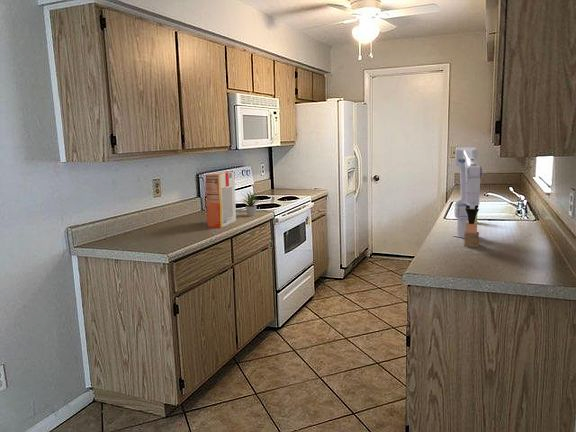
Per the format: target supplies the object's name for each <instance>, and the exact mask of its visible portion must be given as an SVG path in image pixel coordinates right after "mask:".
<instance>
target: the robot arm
mask: <svg viewBox="0 0 576 432" xmlns="http://www.w3.org/2000/svg"><path fill="white" fill-rule="evenodd" d="M478 153H479V152H478V148H477V147H476V146H474V147H472V146H469V147H468V146H467V147H465V146H463V147H462V146H461V147H458V146H457V147H456V148H455V151H454V158H455V159H454V162H455V166H457V167H458V168H459V171H460V172H459V173H460V174H459V175H460V179H459V180H460V183H459V184H460V185H459V186H460V198H459V199H458V200H457V201H456V202H455V204H454V217H455V218H456V219H457V221H456V224H457V225H456V226H457V227H456V234H453V235H452V236H453V237H458V238H461V239H464V235H465V231H466V222H467V221H468V222H469V224H474V222H475V221H476V220H475V218H476V216H477V217H478V212H479V210H480V209H479V205H480V192H481V191H480V190H481V188H480V187H481V179H482V177H483V167H482V165H481V164H480V165H479V163H478Z"/></svg>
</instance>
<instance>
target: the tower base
mask: <svg viewBox="0 0 576 432" xmlns="http://www.w3.org/2000/svg"><path fill="white" fill-rule="evenodd" d="M479 243H480V240H479V241H468V240H464V244H463V245H464V246H463V247H469V248H470V247H472V248H479V247H480V246H479Z"/></svg>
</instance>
